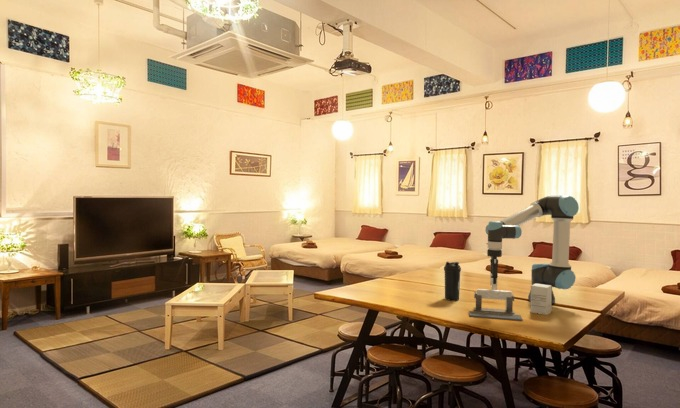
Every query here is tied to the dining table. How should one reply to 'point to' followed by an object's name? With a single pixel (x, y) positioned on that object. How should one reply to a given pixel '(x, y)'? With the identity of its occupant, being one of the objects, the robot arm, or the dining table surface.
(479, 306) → the rack
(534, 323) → the dining table surface
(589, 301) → the dining table surface
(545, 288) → the supplement box
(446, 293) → the water bottle
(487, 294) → the rail
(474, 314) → the mat
